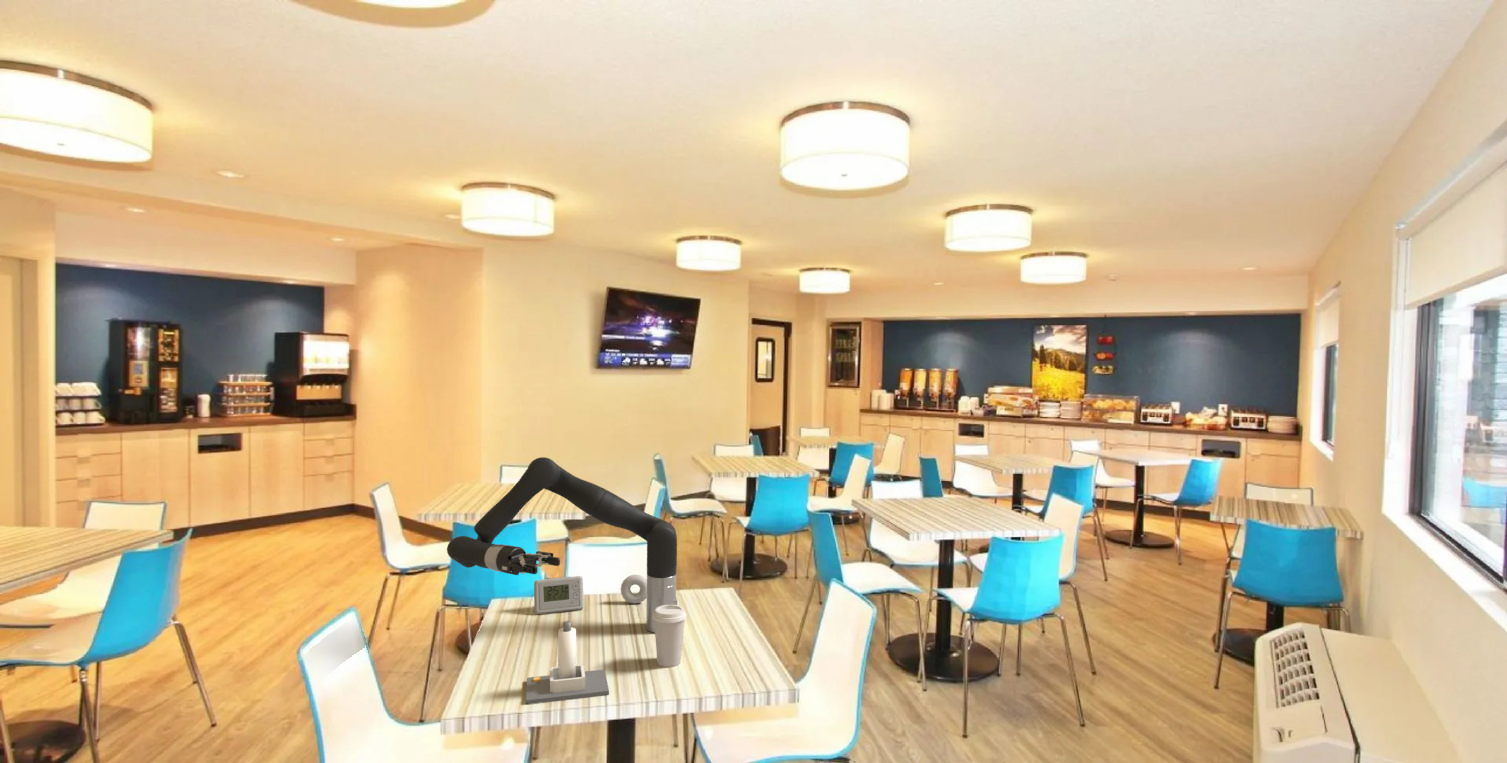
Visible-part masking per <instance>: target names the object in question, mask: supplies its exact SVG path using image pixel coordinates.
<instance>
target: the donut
mask: <svg viewBox="0 0 1507 763" xmlns="http://www.w3.org/2000/svg"><path fill="white" fill-rule="evenodd" d="M635 585H636V586H638V587H639V591H638V592H637V593H633V592H632V590H631V588H632V586H635ZM620 593H621V594H620V595H621V597H622V598H623V599H624V600H625V601H626V602H628V603H630V604H635V605H636V604H640V603H641V602H643V601H645V600H647V578H645V577H644V576H642V575H640V574H632V575H629V576H627V577H626V578H624V580H623V581H622V583H621V586H620Z"/></svg>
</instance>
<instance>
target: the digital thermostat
mask: <svg viewBox="0 0 1507 763" xmlns="http://www.w3.org/2000/svg"><path fill="white" fill-rule="evenodd" d="M533 591H534V592H533V596H534V604H533V605H534V606H533V607H534V614H536V615H541V614H542V615H543V614H546V615H550V614H559V613H568V612H574V611H579V610H583V609H584V608H585V606H584V605H585V604H584V603H585V602H584V601H585V599H584V579H583V577H582V576H581V575H577V576H575V575H574V576H563V577H562V576H561V577H560V576H559V577H552V578H545V579H536V580H534V583H533Z"/></svg>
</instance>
